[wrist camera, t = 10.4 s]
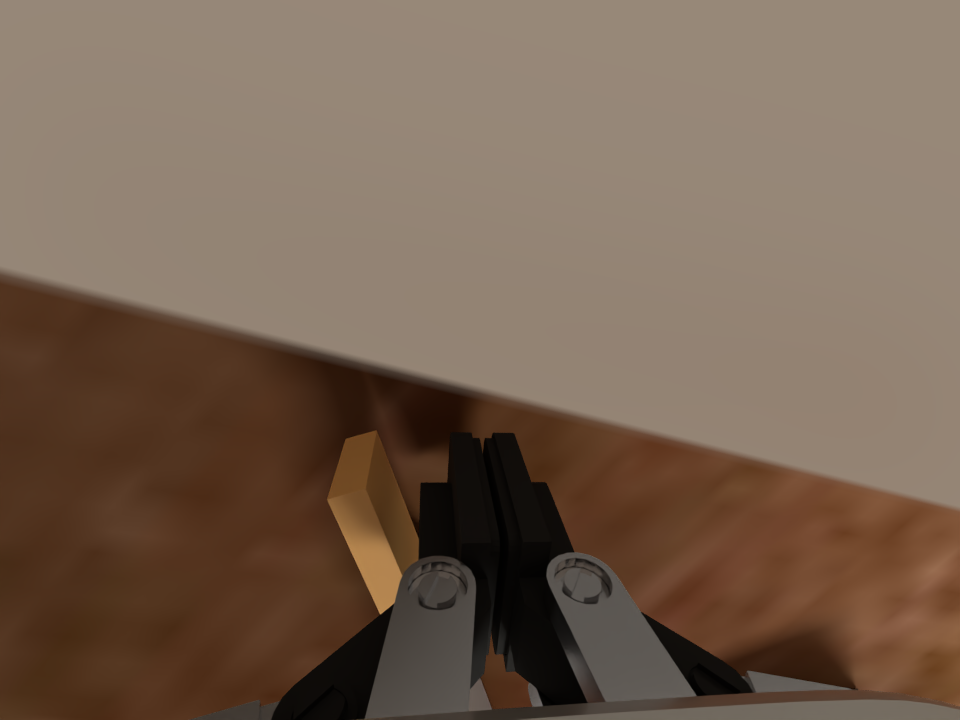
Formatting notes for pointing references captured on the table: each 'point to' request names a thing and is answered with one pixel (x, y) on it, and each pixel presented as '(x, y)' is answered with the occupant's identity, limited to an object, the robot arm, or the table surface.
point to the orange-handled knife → (378, 525)
